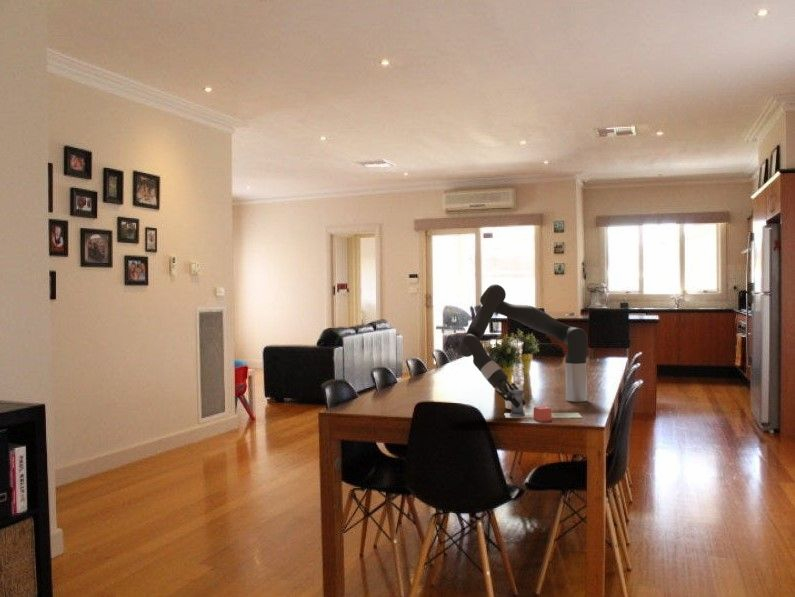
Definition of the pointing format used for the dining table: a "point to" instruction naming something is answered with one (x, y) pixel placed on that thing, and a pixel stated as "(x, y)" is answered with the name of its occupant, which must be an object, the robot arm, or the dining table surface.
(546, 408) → the red die
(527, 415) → the game track
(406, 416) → the dining table surface
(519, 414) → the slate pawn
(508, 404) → the white cup
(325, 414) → the dining table surface
